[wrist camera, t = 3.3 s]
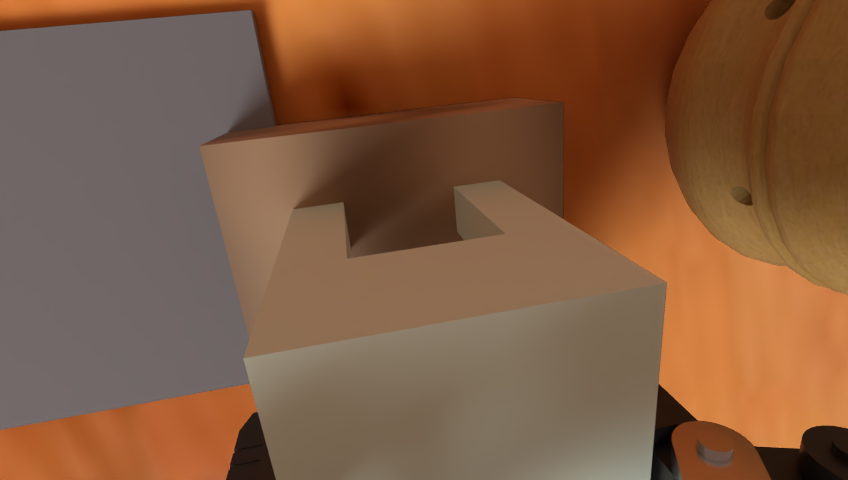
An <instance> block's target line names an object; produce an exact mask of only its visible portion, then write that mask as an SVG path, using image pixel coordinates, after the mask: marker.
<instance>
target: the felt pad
mask: <svg viewBox="0 0 848 480" xmlns="http://www.w3.org/2000/svg"><path fill="white" fill-rule="evenodd" d="M276 125H277V124H276V119H275V114H274V109H273V104H272V99H271V94H270V89H269V84H268V79H267V74H266V69H265V64H264V59H263V54H262V49H261V44H260V40H259V35H258V30H257V25H256V20H255V15H254V12H253V11H252V10H244V11H232V12H220V13H208V14H196V15H185V16H173V17H161V18H149V19H137V20H125V21H113V22H101V23H90V24H78V25H66V26H54V27H42V28H30V29H18V30H6V31H0V430H2V429H8V428H13V427H18V426H24V425H29V424H34V423H40V422H45V421H51V420H56V419H61V418H67V417H72V416H77V415H83V414H88V413H93V412H99V411H104V410H110V409H115V408H120V407H126V406H131V405H136V404H142V403H147V402H152V401H158V400H163V399H169V398H174V397H179V396H185V395H190V394H195V393H201V392H206V391H211V390H217V389H222V388H228V387H233V386H238V385H244V384H249V383H250V382H249V378H248V374H247V371H246V367H245V363H244V359H243V358H244V355H245V352H246V349H247V346H248V343H249V336H248V332H247V328H246V324H245V320H244V317H243V313H242V309H241V305H240V301H239V297H238V294H237V290H236V286H235V282H234V278H233V274H232V270H231V267H230V263H229V259H228V255H227V251H226V247H225V244H224V240H223V236H222V232H221V228H220V224H219V221H218V217H217V213H216V209H215V205H214V201H213V197H212V194H211V190H210V186H209V182H208V178H207V174H206V171H205V167H204V163H203V159H202V155H201V151H200V147H199V146H200V145H202V144H204V143H206V142H209V141H211V140H213V139H215V138H217V137H219V136H221V135H223V134H225V133H227V132H235V131H243V130H252V129H260V128H269V127H275V126H276Z"/></svg>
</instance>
